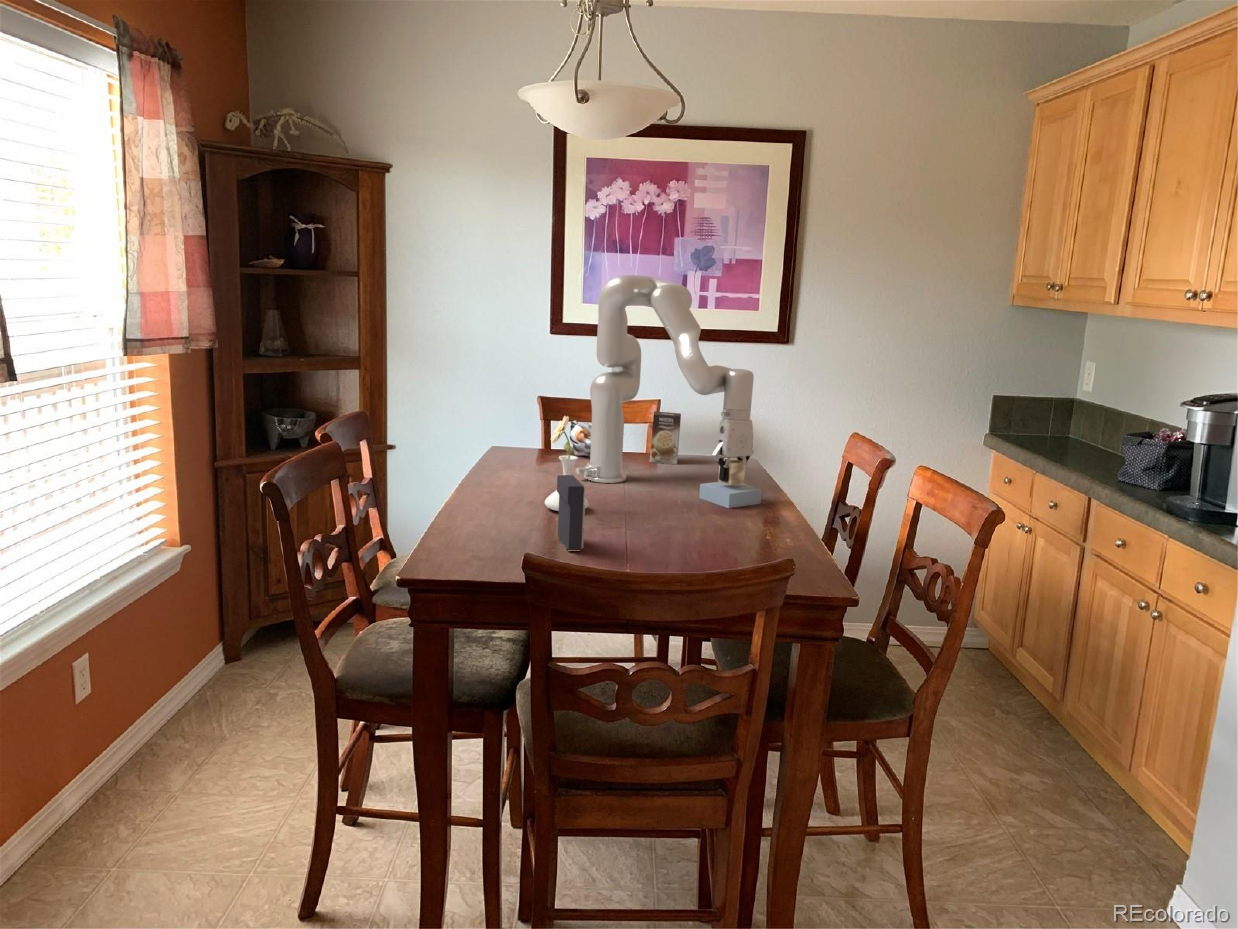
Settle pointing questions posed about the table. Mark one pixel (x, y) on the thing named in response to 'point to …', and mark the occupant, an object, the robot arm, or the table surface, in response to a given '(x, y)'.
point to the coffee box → (665, 437)
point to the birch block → (735, 472)
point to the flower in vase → (567, 463)
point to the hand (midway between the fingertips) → (731, 479)
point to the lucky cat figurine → (580, 438)
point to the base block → (730, 494)
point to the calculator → (571, 512)
